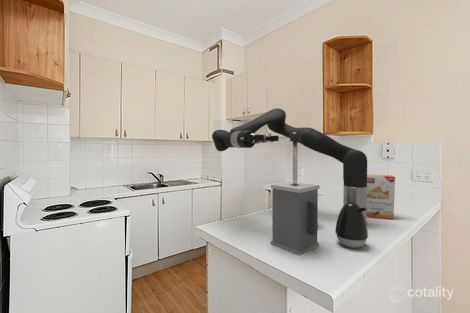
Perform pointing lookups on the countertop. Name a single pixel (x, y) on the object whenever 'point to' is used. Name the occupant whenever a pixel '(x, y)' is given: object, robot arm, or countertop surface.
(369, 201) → the cracker box
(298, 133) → the plunger
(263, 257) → the countertop surface
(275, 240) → the press
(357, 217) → the black egg-shaped dispenser
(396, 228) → the countertop surface
